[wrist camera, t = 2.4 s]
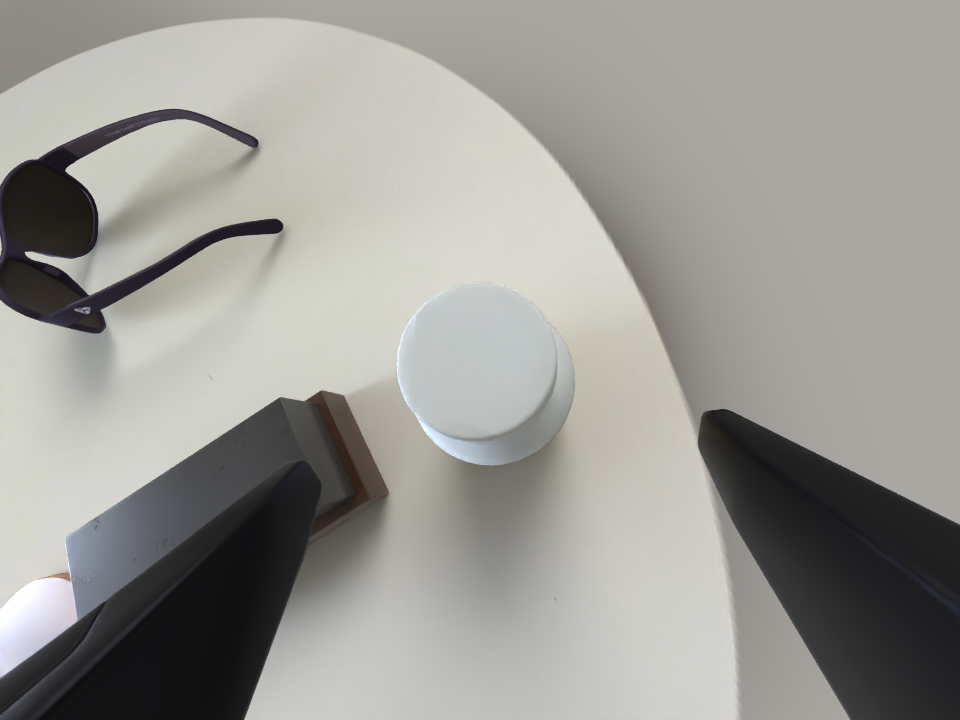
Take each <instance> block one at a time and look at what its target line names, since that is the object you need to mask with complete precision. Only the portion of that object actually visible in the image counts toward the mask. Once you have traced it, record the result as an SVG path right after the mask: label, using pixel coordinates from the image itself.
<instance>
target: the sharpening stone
mask: <svg viewBox="0 0 960 720" xmlns="http://www.w3.org/2000/svg"><path fill="white" fill-rule="evenodd" d="M302 459H303V460H306V461H308V462H309V463H310V465H311V466H312V468H313V469H314V471H315V472H316V474H317V475H318V477H319V478H320V480H321V483H322V492H321V496H320V500H319V503H318V507H317V511H316V515H315V518H314V522H313V526H312V530H311V533H310V537H309V541H308V544H307V545H309V544H310V543H312V542H313V541H315V540H317V539H318V538H320V537H321V536H323V535H324V534H326V533H328V532H329V531H331V530H332V529H334V528H335V527H337V526H339V525H340V524H342V523H343V522H345V521H346V520H348V519H349V518H351V517H353V516H354V515H356V514H357V513H359V512H360V511H362V510H364V509H365V508H367V507H368V506H370V505H371V504H373V503H375V502H376V501H378V500H379V499H381V498H382V497H384V496H385V495H387V494H388V493H389V492H388V489H387V487H386V485H385V483H384V481H383V479H382V477H381V474H380V472H379V470H378V468H377V466H376V464H375V462H374V460H373V457H372V455H371V453H370V451H369V449H368V447H367V445H366V442H365V440H364V438H363V436H362V434H361V432H360V430H359V428H358V425H357V423H356V421H355V419H354V417H353V415H352V413H351V410H350V408H349V406H348V404H347V402H346V400H345V398H344V396H343V395H340V394H336V393H331V392H327V391H323V390H321V391H320V392H318V393H317V394H315V395H313V396H312V397H310V398H309V399H307V400H306V401H299V400H294V399H288V398H282V397H280V398H278V399H277V400H275V401H274V402H272V403H271V404H269V405H268V406H266V407H264V408H263V409H261V410H260V411H258V412H257V413H255V414H254V415H252V416H251V417H249V418H248V419H246V420H245V421H243V422H242V423H240V424H238V425H237V426H235V427H234V428H232V429H231V430H229V431H228V432H226V433H225V434H223V435H222V436H220V437H219V438H217V439H215V440H214V441H212V442H211V443H209V444H208V445H206V446H205V447H203V448H202V449H200V450H199V451H197V452H196V453H194V454H193V455H191V456H189V457H188V458H186V459H185V460H183V461H182V462H180V463H179V464H177V465H176V466H174V467H173V468H171V469H170V470H168V471H167V472H165V473H163V474H162V475H160V476H159V477H157V478H156V479H154V480H153V481H151V482H150V483H148V484H147V485H145V486H144V487H142V488H140V489H139V490H137V491H136V492H134V493H133V494H131V495H130V496H128V497H127V498H125V499H124V500H122V501H121V502H119V503H118V504H116V505H114V506H113V507H111V508H110V509H108V510H107V511H105V512H104V513H102V514H101V515H99V516H98V517H96V518H95V519H93V520H92V521H90V522H88V523H87V524H85V525H84V526H82V527H81V528H79V529H78V530H76V531H75V532H73V533H72V534H70V535H69V536H67V537H65V544H66V551H67V557H68V564H69V570H70V577H71V583H72V590H73V596H74V603H75V609H76V616H77V621H78V620H80V619H81V618H82V617H84V616H85V615H86V614H88V613H89V612H90V611H91V610H93V609H94V608H95V607H97V606H98V605H99V604H101V603H102V602H104V601H107V600H108V598H109V597H110V596H111V595H113V594H114V593H115V592H117V591H118V590H119V589H121V588H122V587H123V586H124V585H126V584H127V583H128V582H130V581H131V580H132V579H134V578H135V577H136V576H138V575H139V574H140V573H142V572H143V571H144V570H146V569H147V568H148V567H149V566H151V565H152V564H153V563H155V562H156V561H157V560H159V559H160V558H161V557H163V556H164V555H165V554H167V553H168V552H169V551H171V550H172V549H173V548H174V547H176V546H177V545H178V544H180V543H181V542H182V541H184V540H185V539H186V538H188V537H189V536H190V535H192V534H193V533H194V532H196V531H197V530H198V529H199V528H201V527H202V526H203V525H205V524H206V523H207V522H209V521H210V520H211V519H213V518H214V517H215V516H217V515H218V514H219V513H221V512H222V511H223V510H224V509H226V508H227V507H228V506H230V505H231V504H232V503H234V502H235V501H236V500H238V499H239V498H240V497H242V496H243V495H244V494H246V493H247V492H248V491H249V490H251V489H252V488H253V487H255V486H256V485H257V484H259V483H260V482H261V481H263V480H264V479H265V478H267V477H268V476H269V475H271V474H272V473H273V472H274V471H276V470H277V469H278V468H280V467H281V466H282V465H284V464H285V463H287V462H289V461H293V460H302Z"/></svg>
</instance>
